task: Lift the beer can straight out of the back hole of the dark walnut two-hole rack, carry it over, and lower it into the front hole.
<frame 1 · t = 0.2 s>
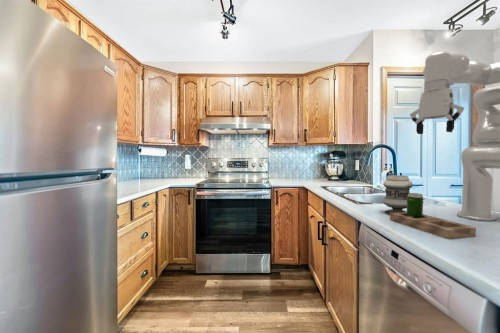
hand: (434, 133, 92), 36 cm above the table, tool pointing down, fingers open, 9 cm apart
beer can: (414, 223, 98), resting in can rack
apothecary jar: (396, 214, 114), on the table
can rack: (428, 227, 93), on the table
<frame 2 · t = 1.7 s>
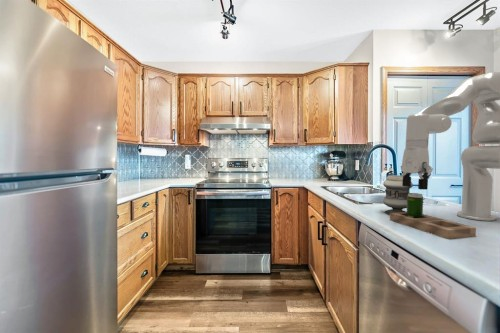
hand: (414, 187, 97), 15 cm above the table, tool pointing down, fingers open, 9 cm apart
nothing on the table moved.
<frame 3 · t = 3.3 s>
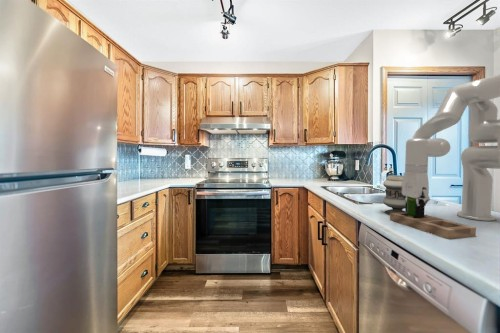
hand: (414, 213, 98), 4 cm above the table, tool pointing down, fingers closed on beer can, 5 cm apart
beer can: (414, 223, 98), resting in can rack, touching gripper
everything else where it was.
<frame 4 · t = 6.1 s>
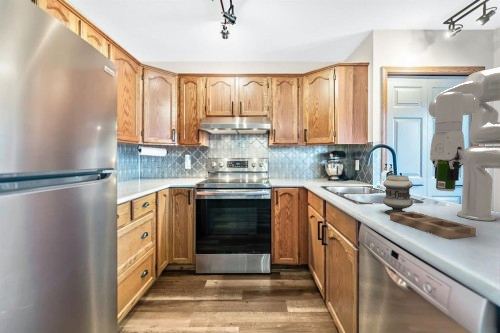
hand: (446, 179, 86), 19 cm above the table, tool pointing down, fingers closed on beer can, 5 cm apart
beer can: (445, 190, 86), point 15 cm above the table, touching gripper
everything else where it was.
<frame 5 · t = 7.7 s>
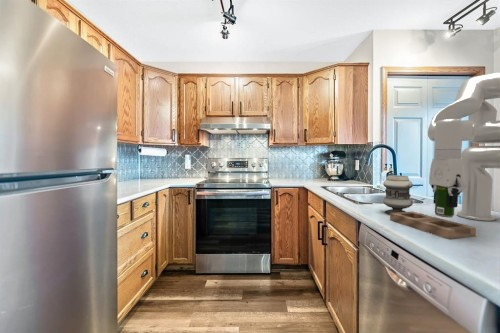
hand: (444, 204, 86), 10 cm above the table, tool pointing down, fingers closed on beer can, 5 cm apart
beer can: (443, 216, 86), point 6 cm above the table, touching gripper
everything else where it was.
when the fingers open (5 cm above the table, at t = 9.0 s): beer can drops 1 cm, resting in can rack.
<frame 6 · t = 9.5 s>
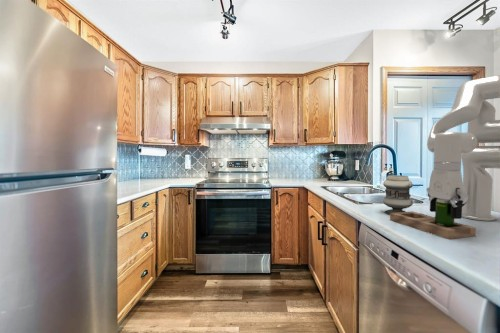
hand: (444, 214, 87), 6 cm above the table, tool pointing down, fingers open, 9 cm apart
beer can: (443, 232, 87), resting in can rack
everything else where it was.
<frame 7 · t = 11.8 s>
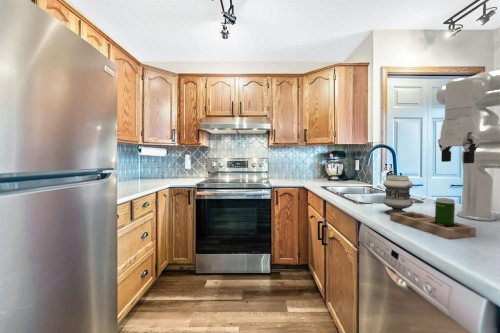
hand: (456, 162, 88), 25 cm above the table, tool pointing down, fingers open, 9 cm apart
nothing on the table moved.
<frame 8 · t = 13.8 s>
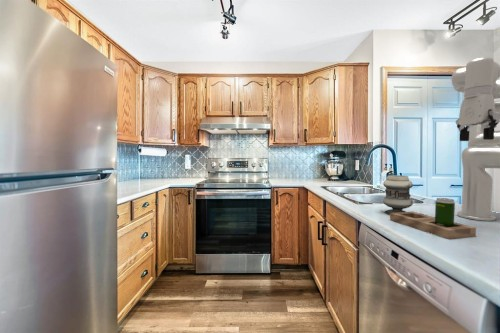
hand: (475, 140, 90), 33 cm above the table, tool pointing down, fingers open, 9 cm apart
nothing on the table moved.
at the end: beer can 0.1 cm from the target spot on the can rack, point 0.0 cm above the can rack's base; beer can tilted 0°; the gripper is holding nothing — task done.
